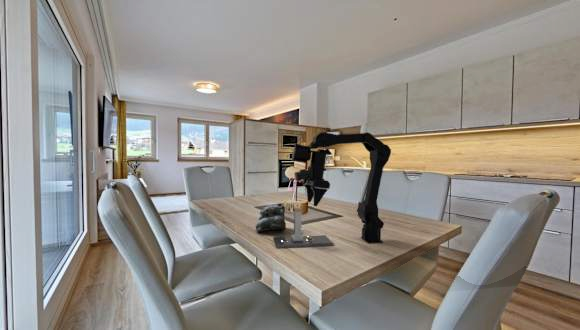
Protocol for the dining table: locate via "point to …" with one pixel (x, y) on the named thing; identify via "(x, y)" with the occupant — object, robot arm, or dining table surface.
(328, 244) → the bolt plate
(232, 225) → the dining table surface
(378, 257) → the dining table surface
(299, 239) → the post
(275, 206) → the dark grey lumpy block
